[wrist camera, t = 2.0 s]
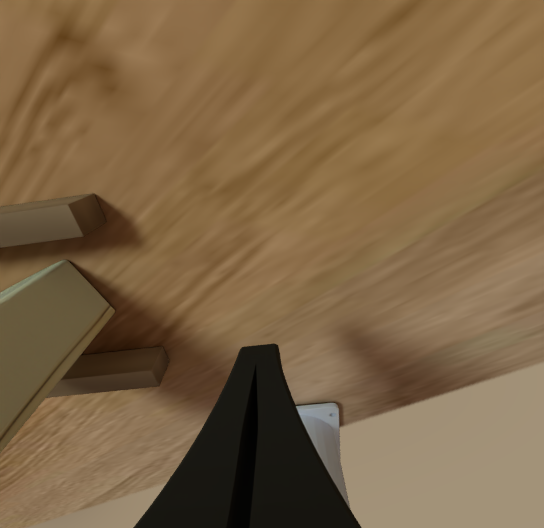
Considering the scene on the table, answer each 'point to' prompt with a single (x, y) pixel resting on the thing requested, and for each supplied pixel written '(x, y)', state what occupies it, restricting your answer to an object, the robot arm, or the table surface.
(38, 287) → the skincare box
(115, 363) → the cradle
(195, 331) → the table surface
